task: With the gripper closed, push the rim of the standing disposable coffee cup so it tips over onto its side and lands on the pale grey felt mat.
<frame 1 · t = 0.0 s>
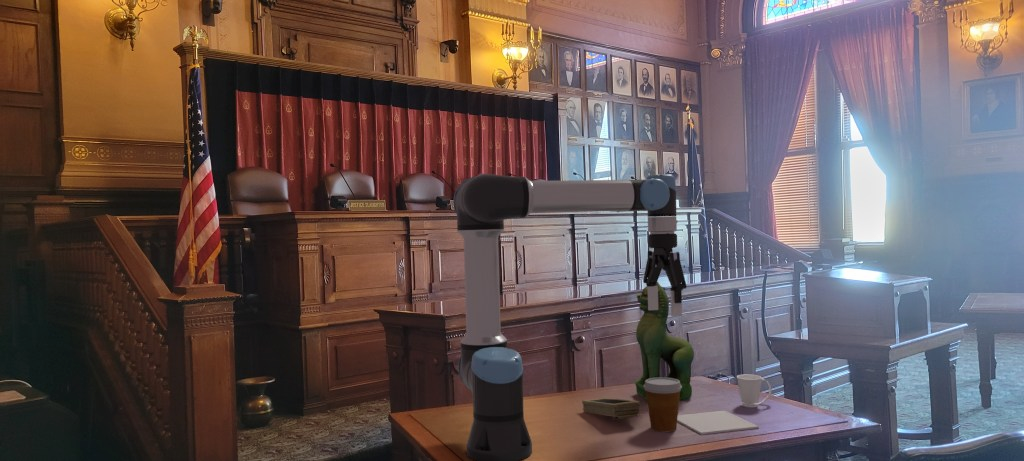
hand: (664, 313, 191), 28 cm above the table, fingers open, 13 cm apart
box: (607, 417, 194), on the table
disposable coffee cup: (663, 429, 182), on the table
lion statue: (665, 397, 214), on the table
felt mat: (713, 422, 186), on the table
cup: (754, 405, 202), on the table
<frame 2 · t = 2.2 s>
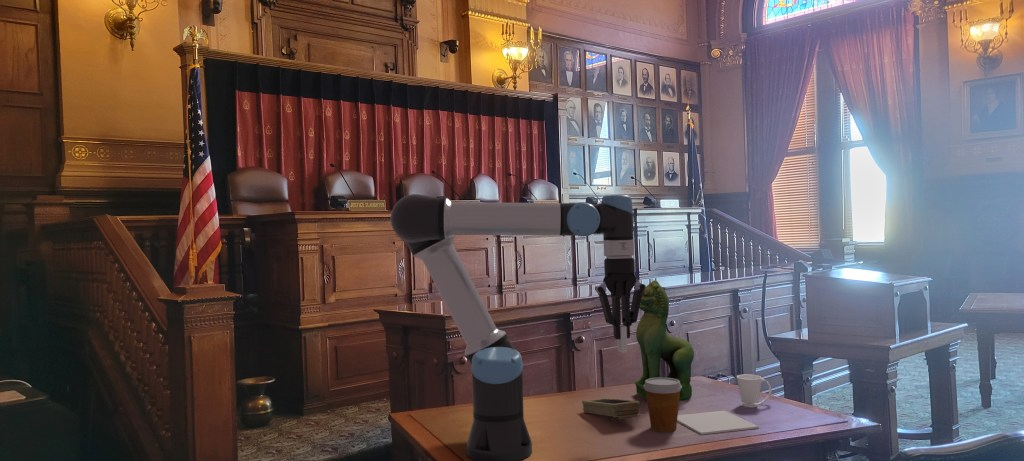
hand: (622, 351, 179), 20 cm above the table, fingers closed
nothing on the table moved.
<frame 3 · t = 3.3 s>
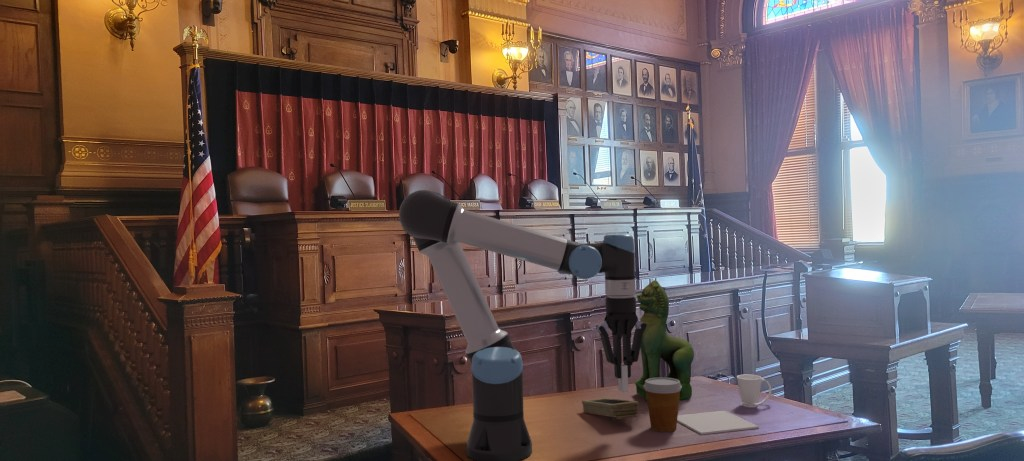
hand: (623, 390, 179), 10 cm above the table, fingers closed
nothing on the table moved.
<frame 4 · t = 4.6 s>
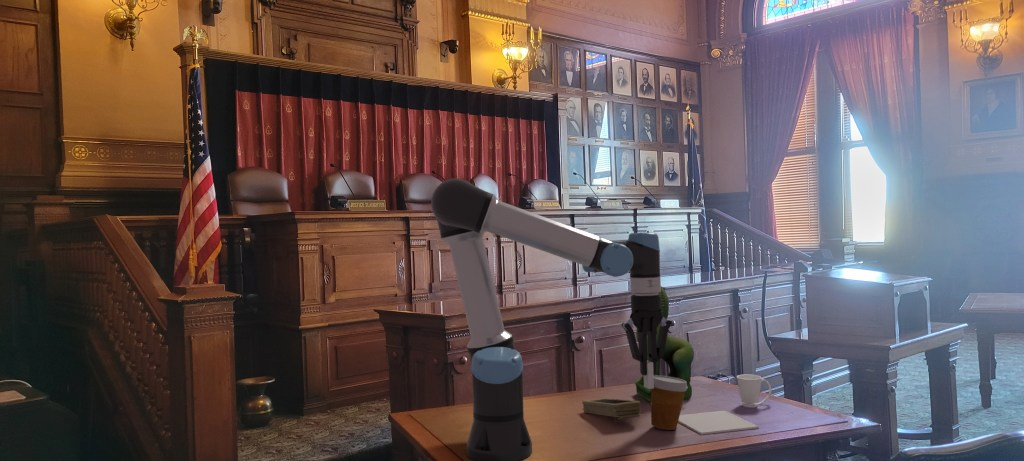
hand: (648, 387, 181), 11 cm above the table, fingers closed
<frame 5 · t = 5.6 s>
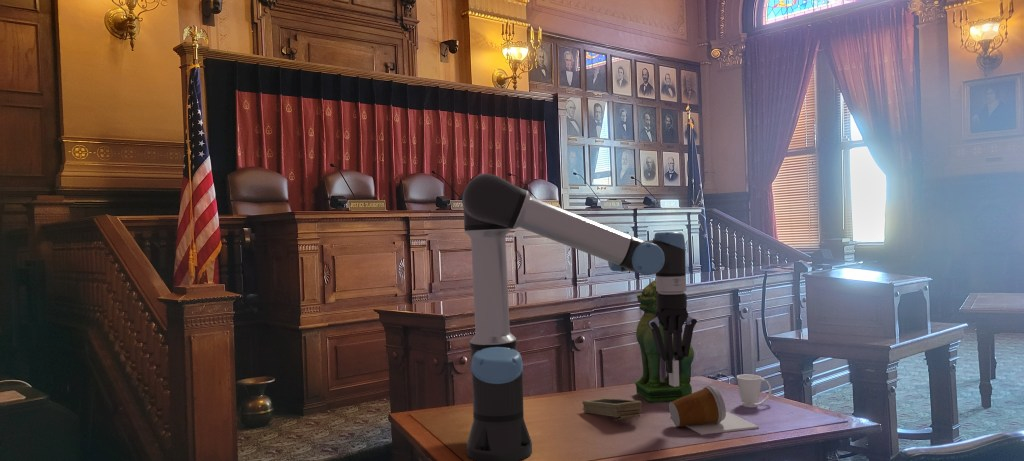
hand: (674, 385, 183), 11 cm above the table, fingers closed
disposable coffee cup: (673, 414, 182), point 3 cm above the table, touching felt mat
everything else where it was.
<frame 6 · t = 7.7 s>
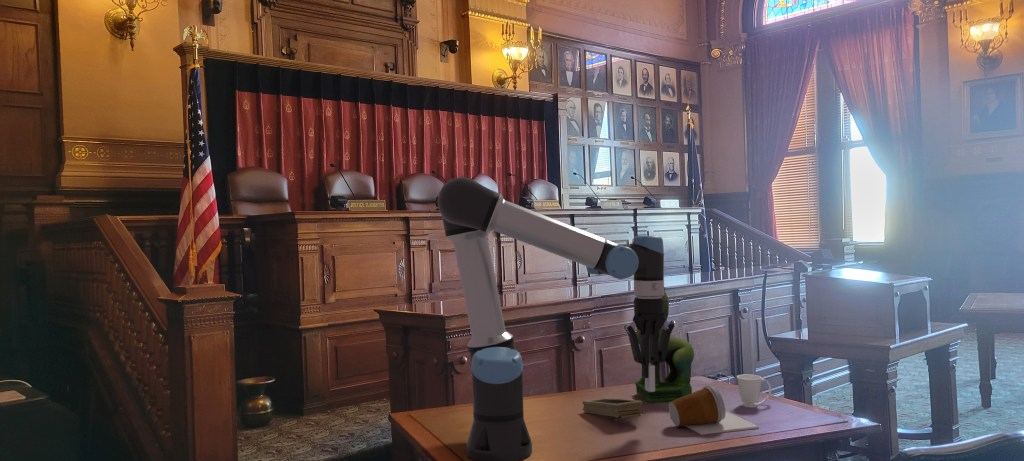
hand: (649, 390, 181), 10 cm above the table, fingers closed
nothing on the table moved.
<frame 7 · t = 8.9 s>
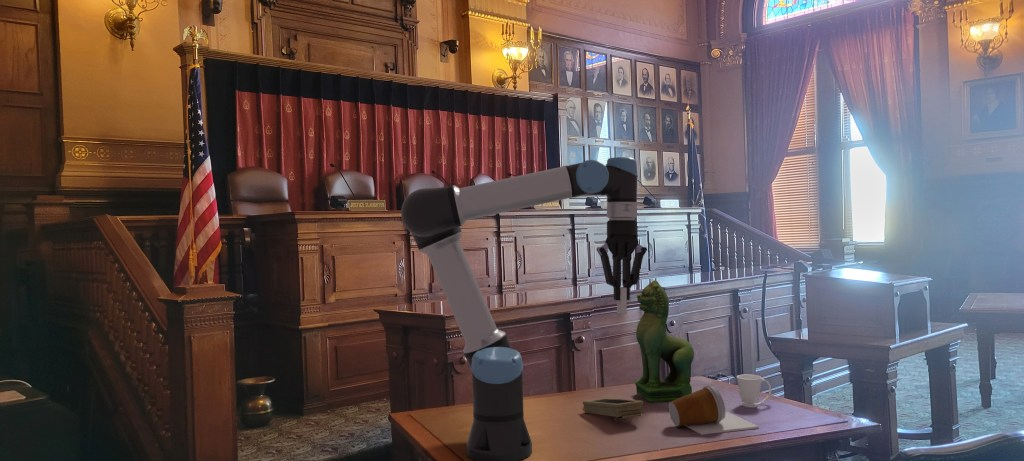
hand: (621, 313, 180), 30 cm above the table, fingers closed
nothing on the table moved.
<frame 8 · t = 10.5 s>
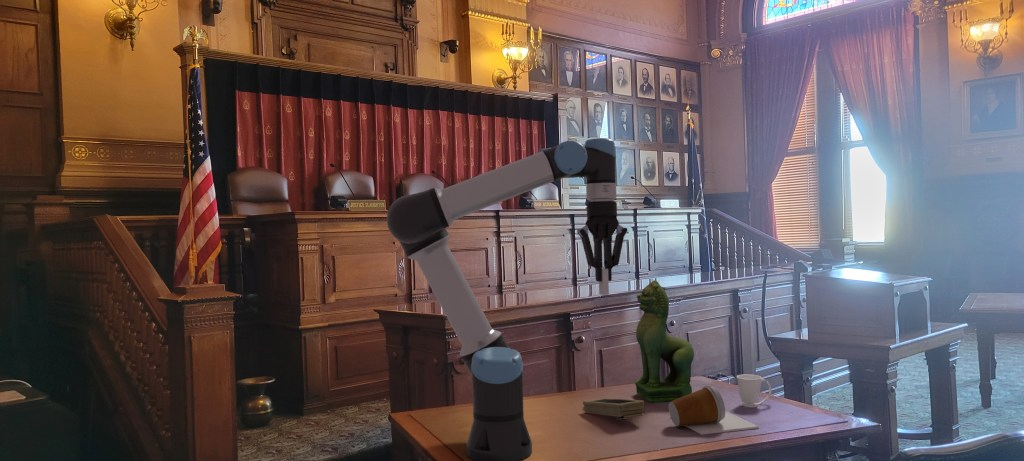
hand: (604, 294, 181), 34 cm above the table, fingers closed
nothing on the table moved.
at the end: disposable coffee cup tilted 80°; disposable coffee cup inside the target area (8.5 cm from its centre), point 3.4 cm above the table; the gripper is holding nothing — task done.
